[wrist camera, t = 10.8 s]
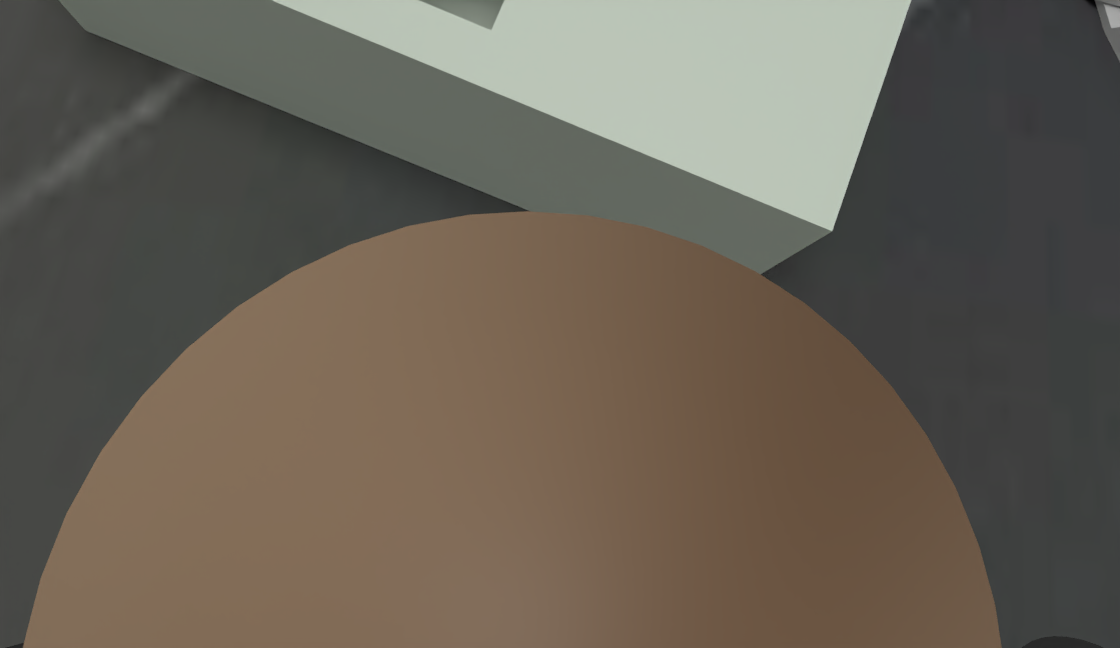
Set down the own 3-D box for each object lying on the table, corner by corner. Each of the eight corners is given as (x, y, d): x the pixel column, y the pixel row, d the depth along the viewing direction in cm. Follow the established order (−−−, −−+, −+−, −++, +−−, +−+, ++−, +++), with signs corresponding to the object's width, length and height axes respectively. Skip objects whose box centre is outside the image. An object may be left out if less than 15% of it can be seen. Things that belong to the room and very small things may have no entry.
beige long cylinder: (360, 551, 22) (-187, 1048, 4) (429, 385, 23) (275, 73, 4) (527, 616, 22) (838, 1405, 4) (590, 448, 23) (1109, 410, 5)
